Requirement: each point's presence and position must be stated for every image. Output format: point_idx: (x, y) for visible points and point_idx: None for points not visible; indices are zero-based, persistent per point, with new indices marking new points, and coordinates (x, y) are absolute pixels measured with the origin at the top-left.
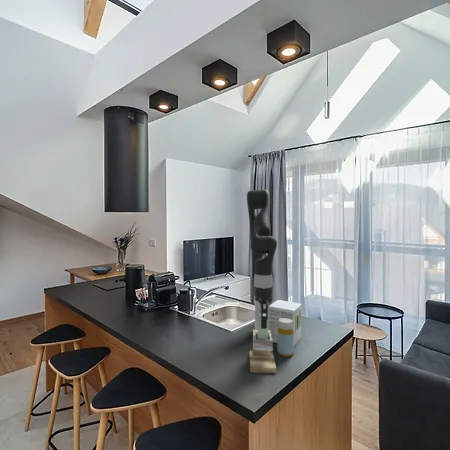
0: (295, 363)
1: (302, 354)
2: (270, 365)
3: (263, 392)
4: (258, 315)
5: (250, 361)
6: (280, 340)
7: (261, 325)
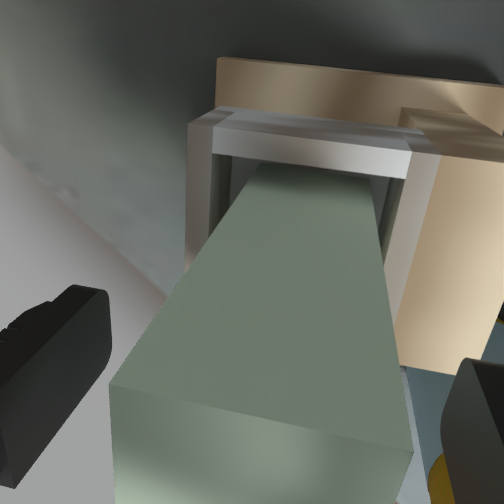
0: None
1: None
2: None
3: (22, 108)
4: (162, 404)
5: (306, 69)
6: None
7: (48, 310)
